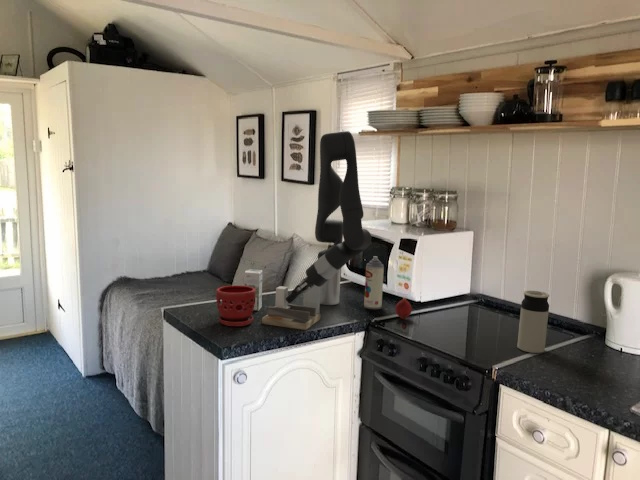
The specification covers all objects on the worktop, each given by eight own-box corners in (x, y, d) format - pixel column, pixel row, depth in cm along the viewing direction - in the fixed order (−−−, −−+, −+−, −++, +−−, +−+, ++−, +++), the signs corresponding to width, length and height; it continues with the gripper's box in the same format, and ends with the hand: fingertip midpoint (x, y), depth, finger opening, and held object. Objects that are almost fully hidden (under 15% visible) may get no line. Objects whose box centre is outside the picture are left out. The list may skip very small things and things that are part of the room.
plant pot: (261, 320, 186) (262, 287, 185) (241, 331, 175) (242, 295, 173) (230, 315, 192) (230, 282, 190) (208, 324, 180) (208, 289, 178)
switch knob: (277, 311, 191) (278, 285, 190) (290, 313, 190) (291, 287, 188) (272, 314, 187) (272, 288, 186) (285, 316, 186) (286, 289, 184)
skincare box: (319, 310, 202) (320, 279, 200) (319, 314, 198) (320, 281, 196) (303, 310, 202) (304, 278, 200) (302, 313, 198) (303, 281, 196)
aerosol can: (361, 305, 213) (364, 255, 210) (377, 304, 215) (380, 254, 212) (368, 309, 206) (370, 258, 203) (384, 308, 208) (387, 258, 205)
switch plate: (278, 313, 197) (279, 299, 196) (320, 319, 191) (320, 305, 191) (262, 323, 183) (262, 309, 183) (305, 330, 178) (306, 315, 178)
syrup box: (261, 307, 204) (262, 269, 202) (258, 311, 198) (259, 272, 196) (247, 306, 204) (247, 268, 202) (243, 310, 198) (244, 271, 196)
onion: (407, 322, 192) (408, 300, 191) (392, 319, 195) (393, 297, 194) (413, 318, 197) (414, 297, 195) (398, 315, 200) (400, 294, 198)
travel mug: (516, 351, 166) (522, 294, 164) (517, 343, 174) (522, 289, 171) (544, 355, 163) (550, 297, 161) (543, 347, 171) (549, 292, 168)
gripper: (322, 258, 188) (288, 288, 194) (308, 264, 175) (273, 296, 181) (336, 274, 187) (301, 304, 193) (323, 282, 174) (287, 314, 180)
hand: (288, 300), depth 187 cm, fingers closed
